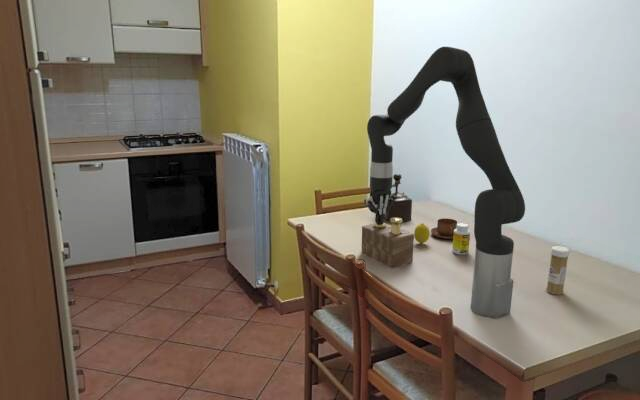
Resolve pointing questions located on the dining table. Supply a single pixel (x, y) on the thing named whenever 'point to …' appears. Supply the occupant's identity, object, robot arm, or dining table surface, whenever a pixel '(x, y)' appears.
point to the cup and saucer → (445, 228)
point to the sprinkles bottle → (557, 270)
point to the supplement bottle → (461, 239)
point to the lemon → (421, 233)
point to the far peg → (379, 226)
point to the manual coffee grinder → (399, 204)
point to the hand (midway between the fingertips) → (379, 223)
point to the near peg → (395, 225)
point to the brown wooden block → (387, 245)
